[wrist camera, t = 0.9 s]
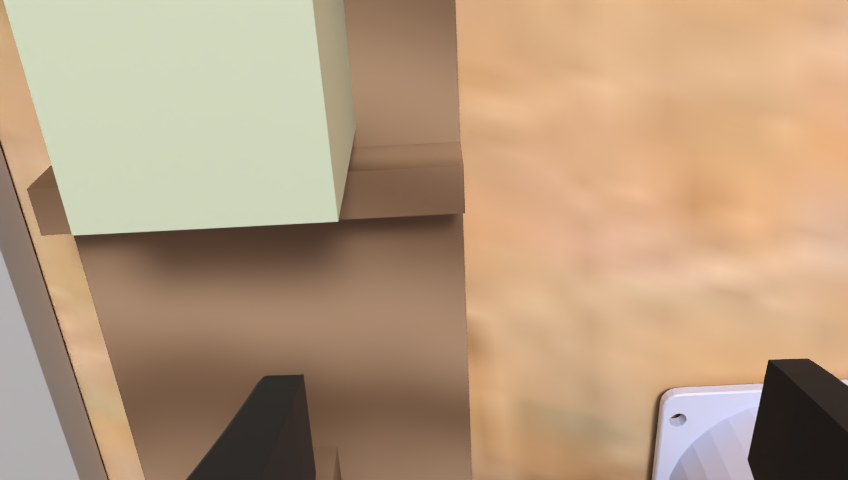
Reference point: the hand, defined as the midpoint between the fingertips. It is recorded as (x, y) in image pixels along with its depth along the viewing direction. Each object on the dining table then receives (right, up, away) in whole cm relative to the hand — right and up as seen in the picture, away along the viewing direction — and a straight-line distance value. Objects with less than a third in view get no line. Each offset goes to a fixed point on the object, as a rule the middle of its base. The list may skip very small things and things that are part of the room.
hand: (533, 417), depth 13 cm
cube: (-6, +8, +6) cm, 11 cm away
